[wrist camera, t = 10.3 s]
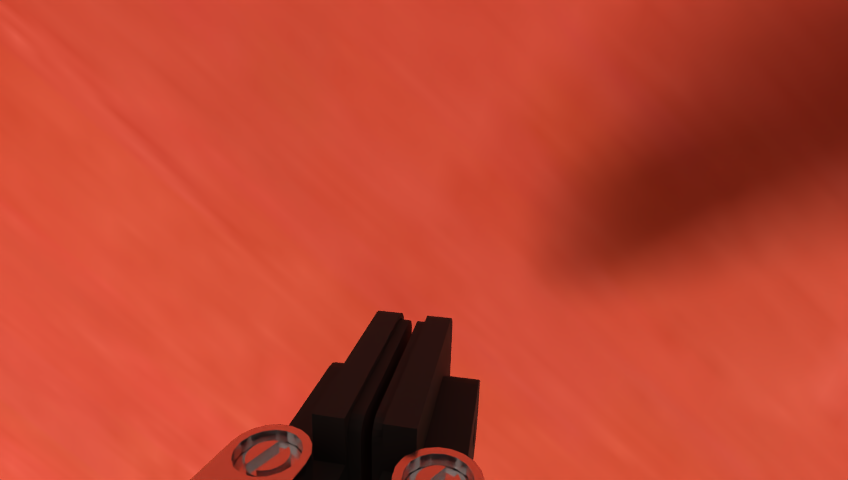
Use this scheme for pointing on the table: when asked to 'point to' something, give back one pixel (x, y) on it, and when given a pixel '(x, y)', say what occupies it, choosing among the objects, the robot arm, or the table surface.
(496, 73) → the table surface
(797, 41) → the table surface
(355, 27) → the table surface
